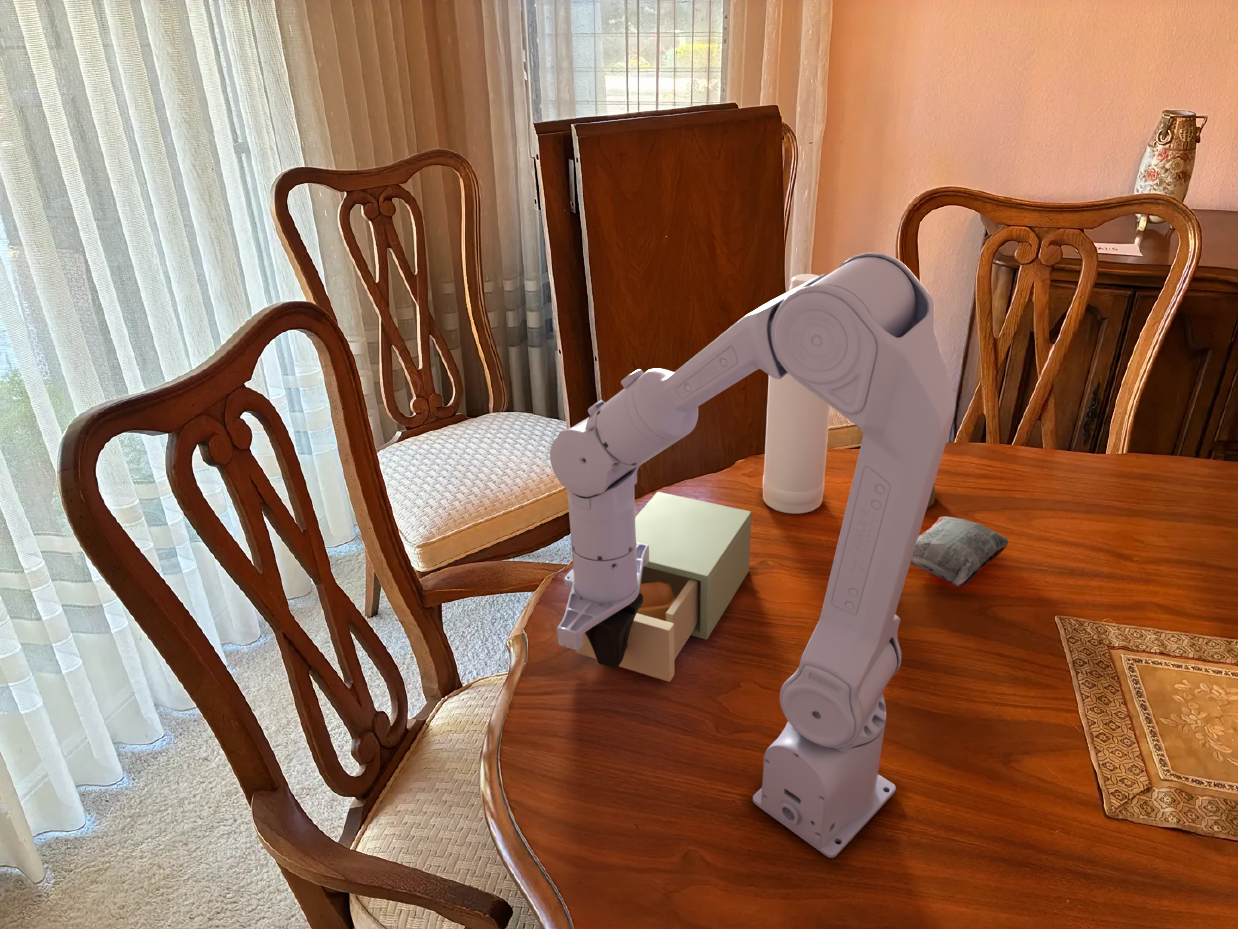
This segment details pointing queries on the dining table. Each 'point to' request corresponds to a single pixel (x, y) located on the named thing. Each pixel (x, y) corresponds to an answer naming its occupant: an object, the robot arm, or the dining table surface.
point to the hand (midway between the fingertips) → (610, 661)
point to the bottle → (795, 442)
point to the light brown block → (656, 599)
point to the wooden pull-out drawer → (660, 629)
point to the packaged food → (956, 549)
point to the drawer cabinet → (698, 548)
